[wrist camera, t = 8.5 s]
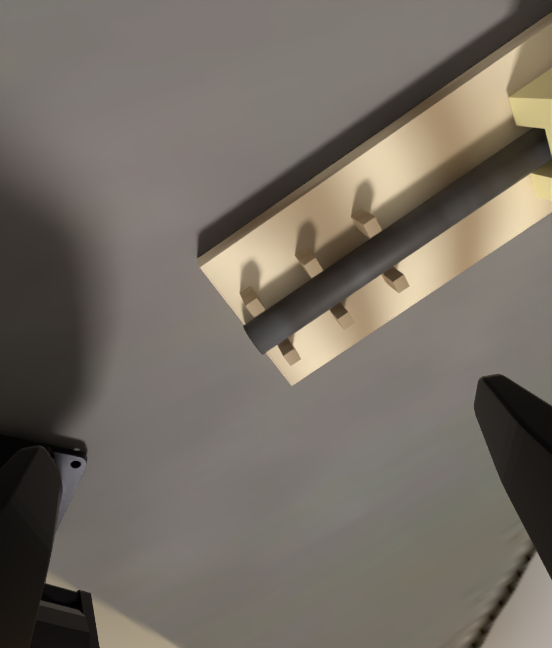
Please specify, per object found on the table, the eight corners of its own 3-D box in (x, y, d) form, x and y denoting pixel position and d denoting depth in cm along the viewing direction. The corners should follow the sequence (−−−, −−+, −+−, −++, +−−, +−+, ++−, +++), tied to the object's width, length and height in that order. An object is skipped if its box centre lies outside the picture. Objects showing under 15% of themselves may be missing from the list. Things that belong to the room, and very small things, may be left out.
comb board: (285, 373, 25) (310, 424, 21) (197, 258, 21) (208, 296, 17) (641, 134, 24) (735, 143, 20) (618, -36, 20) (729, -63, 16)
